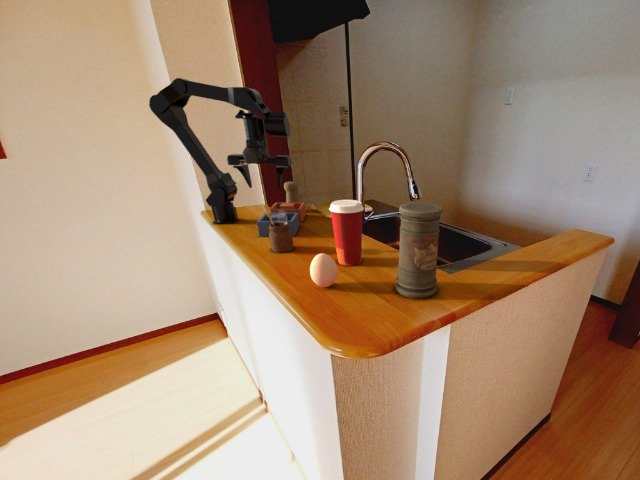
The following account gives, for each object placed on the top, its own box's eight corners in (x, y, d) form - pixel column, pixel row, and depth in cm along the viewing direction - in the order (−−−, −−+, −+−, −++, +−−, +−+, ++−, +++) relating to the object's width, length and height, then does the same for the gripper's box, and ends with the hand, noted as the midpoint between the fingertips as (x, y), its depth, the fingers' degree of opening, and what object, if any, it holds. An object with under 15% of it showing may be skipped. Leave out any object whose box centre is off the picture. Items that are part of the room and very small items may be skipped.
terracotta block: (281, 218, 114) (279, 206, 112) (284, 215, 118) (282, 203, 116) (294, 218, 115) (292, 206, 113) (296, 215, 119) (294, 203, 117)
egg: (343, 286, 70) (341, 254, 67) (320, 294, 67) (316, 261, 63) (329, 278, 74) (326, 247, 70) (307, 285, 71) (302, 253, 67)
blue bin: (259, 236, 99) (256, 221, 97) (267, 226, 108) (265, 212, 106) (294, 235, 100) (292, 221, 98) (299, 226, 109) (298, 212, 107)
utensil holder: (285, 254, 86) (278, 209, 80) (266, 250, 88) (257, 207, 82) (298, 247, 91) (292, 204, 85) (279, 244, 93) (272, 202, 87)
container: (387, 288, 70) (387, 205, 61) (415, 276, 76) (419, 199, 67) (417, 303, 65) (422, 215, 56) (444, 290, 70) (453, 207, 61)
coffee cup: (370, 257, 86) (368, 200, 78) (358, 269, 79) (355, 208, 71) (341, 253, 88) (337, 197, 80) (327, 265, 81) (321, 205, 73)
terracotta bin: (271, 222, 112) (268, 209, 109) (277, 214, 121) (275, 202, 119) (301, 222, 113) (300, 209, 111) (306, 214, 122) (304, 202, 120)
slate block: (271, 231, 101) (269, 217, 99) (274, 227, 105) (272, 213, 103) (285, 231, 102) (283, 217, 100) (288, 227, 106) (286, 213, 104)
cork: (285, 209, 128) (281, 181, 122) (300, 208, 130) (297, 180, 124) (287, 213, 123) (283, 183, 117) (303, 212, 125) (299, 182, 120)
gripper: (213, 136, 91) (226, 192, 99) (280, 138, 93) (288, 193, 101) (228, 134, 101) (239, 185, 109) (288, 136, 103) (295, 186, 110)
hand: (264, 188), depth 107 cm, fingers open, 9 cm apart
